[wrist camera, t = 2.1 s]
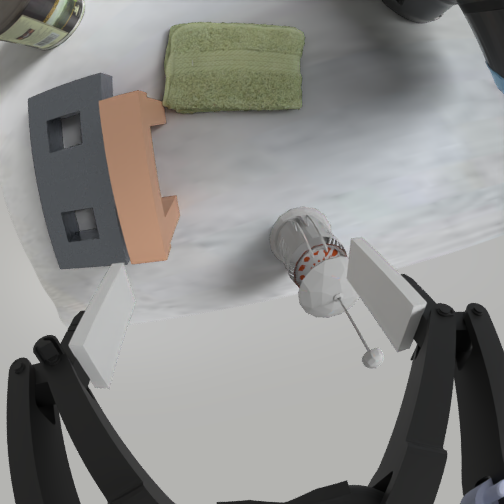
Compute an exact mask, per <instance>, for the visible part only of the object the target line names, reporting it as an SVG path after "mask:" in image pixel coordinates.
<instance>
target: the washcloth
mask: <svg viewBox="0 0 504 504" xmlns="http://www.w3.org/2000/svg"><path fill="white" fill-rule="evenodd" d="M304 40H305V37H304V33H303V32H302V31H300V30H297V29H296V28H295V27H290V26H282V27H281V26H276V25H266V24H260V25H259V24H253V23H252V24H251V23H248V24H245V23H243V24H242V23H223V22H222V23H211V22H206V23H204V22H198V23H196V22H195V23H188V24H179V25H174V26H172V27H171V28H170V32H169V40H168V45H167V50H166V55H165V60H164V72H165V75H166V82H165V92H164V97H163V103H162V105H163V107H168V109H175V110H176V112H178V113H182V114H186V113H191V114H193V113H194V112H195V113H196V112H210V111H214V112H215V111H220V110H222V111H237V110H238V111H239V110H240V111H241V110H244V111H248V110H257V111H261V110H284V109H285V110H288V109H298V110H299V109H300V108H301V107H302V90H301V83H302V76H301V74H300V58H301V57H302V51H303V46H304V44H305V42H304Z"/></svg>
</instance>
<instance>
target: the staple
mask: <svg viewBox="0 0 504 504" xmlns="http://www.w3.org/2000/svg"><path fill="white" fill-rule="evenodd" d="M162 103H163V101H159V100H155V99H151V98H147V93H146V92H142V91H139V90H137V91H133V92H129V93H125V94H121V95H118V96H114V97H111V98H107V99H104V100H101V101H99V110H100V119H101V127H102V134H103V141H104V147H105V153H106V159H107V165H108V170H109V176H110V181H111V186H112V190H113V195H114V199H115V204H116V208H117V212H118V217H119V221H120V225H121V228H122V232H123V236H124V240H125V243H126V247H127V250H128V254H129V257H130V261H131V264H140V263H148V262H156V261H164V260H167V259H168V255H169V252H170V249H171V244H170V243H171V240H172V237H173V234H174V231H175V228H176V225H177V223H178V220H179V217H180V213H179V207H178V201H177V195H175V196H168V197H162V198H161V194H160V189H159V183H158V177H157V171H156V164H155V158H154V151H153V144H152V137H151V129H150V126H155V125H161V124H166V116H165V107H163V105H162Z"/></svg>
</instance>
